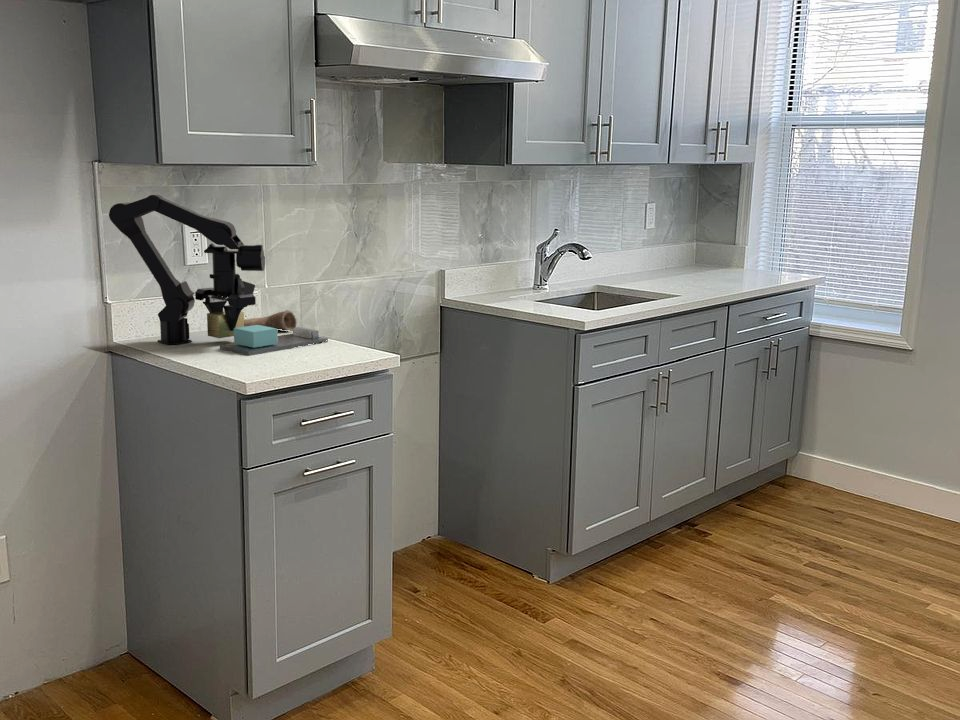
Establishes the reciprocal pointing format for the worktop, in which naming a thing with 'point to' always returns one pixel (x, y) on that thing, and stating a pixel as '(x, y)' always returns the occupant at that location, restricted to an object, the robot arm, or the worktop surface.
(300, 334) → the vise
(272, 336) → the slide jaw
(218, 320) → the brass block
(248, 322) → the pipe
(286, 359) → the worktop surface
